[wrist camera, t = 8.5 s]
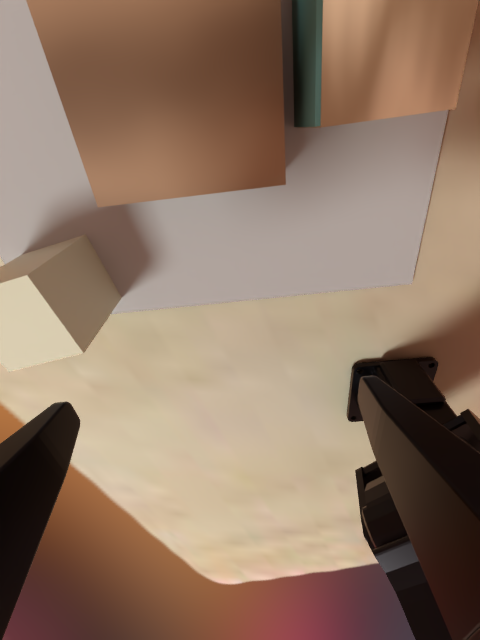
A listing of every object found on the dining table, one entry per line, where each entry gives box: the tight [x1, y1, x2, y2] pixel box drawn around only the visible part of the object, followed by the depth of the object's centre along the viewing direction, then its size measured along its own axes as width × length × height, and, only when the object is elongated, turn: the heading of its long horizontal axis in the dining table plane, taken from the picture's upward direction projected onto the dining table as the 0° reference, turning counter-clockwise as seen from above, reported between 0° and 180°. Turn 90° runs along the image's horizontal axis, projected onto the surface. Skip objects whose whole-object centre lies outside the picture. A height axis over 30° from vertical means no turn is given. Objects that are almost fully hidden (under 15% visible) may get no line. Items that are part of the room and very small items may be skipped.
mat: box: [0, 0, 448, 314], centre depth 15 cm, size 22×26×1 cm
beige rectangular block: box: [0, 234, 122, 372], centre depth 17 cm, size 4×4×6 cm
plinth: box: [26, 0, 286, 207], centre depth 13 cm, size 9×9×3 cm
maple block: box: [292, 0, 479, 128], centre depth 12 cm, size 5×5×5 cm
